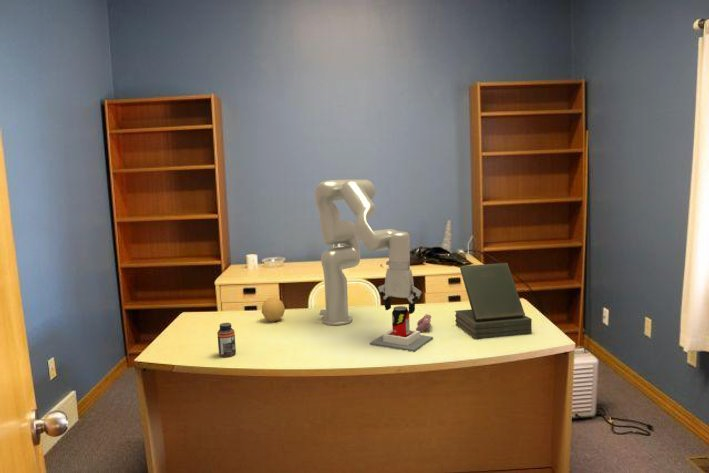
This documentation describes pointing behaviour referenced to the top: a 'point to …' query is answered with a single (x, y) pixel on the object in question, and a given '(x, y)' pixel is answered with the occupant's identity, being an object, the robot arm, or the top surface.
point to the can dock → (402, 341)
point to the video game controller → (424, 323)
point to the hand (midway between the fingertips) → (399, 311)
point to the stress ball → (273, 309)
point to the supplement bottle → (226, 340)
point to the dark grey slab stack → (492, 303)
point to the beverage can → (400, 321)
